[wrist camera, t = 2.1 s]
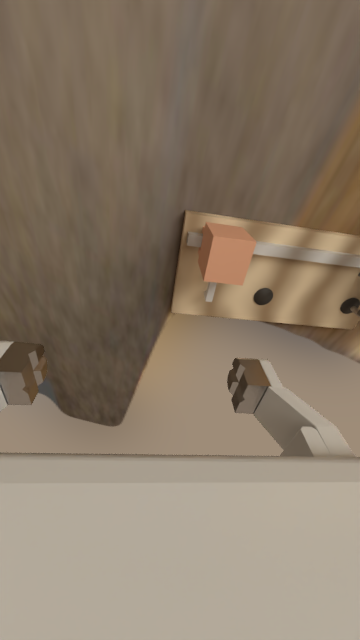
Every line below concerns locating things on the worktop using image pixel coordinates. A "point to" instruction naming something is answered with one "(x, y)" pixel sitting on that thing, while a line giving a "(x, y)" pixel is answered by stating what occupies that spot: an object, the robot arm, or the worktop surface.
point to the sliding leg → (224, 255)
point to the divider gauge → (275, 275)
